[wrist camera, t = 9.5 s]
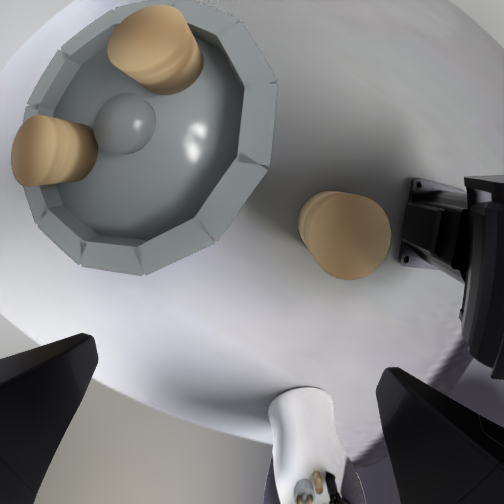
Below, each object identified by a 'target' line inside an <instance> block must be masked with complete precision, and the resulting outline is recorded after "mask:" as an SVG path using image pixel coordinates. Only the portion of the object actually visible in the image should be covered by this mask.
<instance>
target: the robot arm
mask: <svg viewBox="0 0 504 504" xmlns="http://www.w3.org/2000/svg"><path fill="white" fill-rule="evenodd" d="M417 182H418V183H419V187H418V188H417V186H416V183H417ZM464 184H465V187H466V190H467V192H464V191H461V190H458V189H455V188H451V187H448V186H445V185H442V184H438V183H435V182H432V181H428V180H425V179H421V178H414V179H413V180H412V181H411V186H410V195H409V202H408V204H407V207H406V214H405V220H404V226H403V232H402V244H401V249H400V254H399V263H400V264H402V265H403V266H408V267H417V268H426V269H436V270H441V271H443V272H445V273H446V274H448V275H450V276H451V277H453V278H455V279H456V280H458V281H460V282H461V283H463V284H465V289H464V297H463V304H462V309H460V315H459V318H460V320H461V322H462V335H463V337H464V339H465V341H466V343H467V345H468V346H469V348H468V352H469V354H470V355H471V356H473V357H474V358H475V359H476V360H477V361H478V362H480V363H482V364H483V365H485V366H487V367H490V368H492V369H493V370H492V372H491V375H490V376H491V378H492V379H503V380H504V175H494V176H471V177H464ZM406 256H407V259H406V261H404V258H405V257H406ZM97 364H98V353H97V349H96V344H95V339H94V337H93V336H91V335H88V334H85V333H80V334H77V335H74V336H71V337H68V338H65V339H62V340H59V341H56V342H53V343H50V344H46V345H43V346H40V347H37V348H34V349H31V350H28V351H25V352H22V353H18V354H15V355H12V356H9V357H6V358H2V359H0V504H33V503H34V501H35V498H36V496H37V495H36V494H37V493H38V490H39V488H40V486H41V483H42V481H43V478H44V476H45V474H46V471H47V469H48V467H49V465H50V463H51V461H52V458H53V456H54V454H55V452H56V450H57V448H58V446H59V444H60V442H61V440H62V438H63V436H64V434H65V432H66V430H67V428H68V426H69V424H70V422H71V420H72V418H73V416H74V414H75V413H76V411H77V409H78V407H79V405H80V403H81V401H82V399H83V397H84V395H85V392H86V390H87V387H88V385H89V383H90V380H91V378H92V375H93V373H94V371H95V369H96V366H97ZM376 397H377V402H378V408H379V413H380V419H381V425H382V430H383V434H384V438H385V442H386V445H387V449H388V453H389V456H390V460H391V464H392V468H393V471H394V475H395V479H396V484H397V488H398V492H399V497H400V501H401V504H504V428H503V427H501V426H499V425H497V424H495V423H493V422H491V421H489V420H488V419H486V418H484V417H482V416H481V415H478V414H477V413H475V412H473V411H472V410H470V409H468V408H466V407H464V406H463V405H461V404H459V403H458V402H456V401H454V400H453V399H451V398H449V397H447V396H446V395H444V394H442V393H441V392H439V391H437V390H436V389H434V388H432V387H430V386H429V385H427V384H425V383H424V382H422V381H420V380H419V379H417V378H415V377H414V376H412V375H410V374H409V373H407V372H405V371H404V370H402V369H400V368H399V367H388V368H386V369H385V370H384V372H383V374H382V376H381V379H380V381H379V383H378V385H377V388H376Z"/></svg>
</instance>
